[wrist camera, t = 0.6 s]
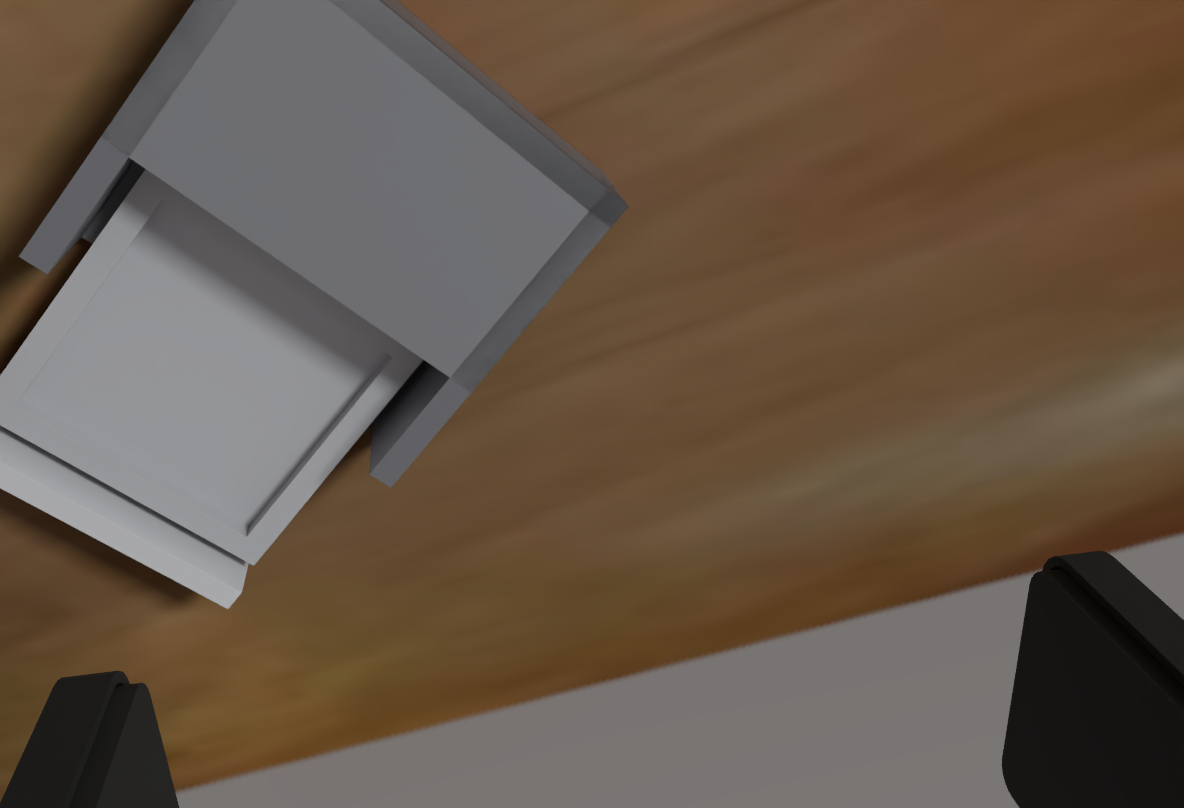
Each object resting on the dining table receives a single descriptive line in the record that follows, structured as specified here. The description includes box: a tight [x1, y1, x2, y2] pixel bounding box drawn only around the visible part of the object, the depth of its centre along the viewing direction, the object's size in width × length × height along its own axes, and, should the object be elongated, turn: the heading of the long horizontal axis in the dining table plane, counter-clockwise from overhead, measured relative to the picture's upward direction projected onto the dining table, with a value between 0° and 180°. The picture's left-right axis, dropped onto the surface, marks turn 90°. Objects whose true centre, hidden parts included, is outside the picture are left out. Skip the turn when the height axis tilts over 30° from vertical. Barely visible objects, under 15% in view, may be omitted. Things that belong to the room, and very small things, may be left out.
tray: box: [0, 169, 423, 609], centre depth 42 cm, size 12×14×3 cm
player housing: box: [19, 0, 628, 488], centre depth 39 cm, size 15×14×5 cm
